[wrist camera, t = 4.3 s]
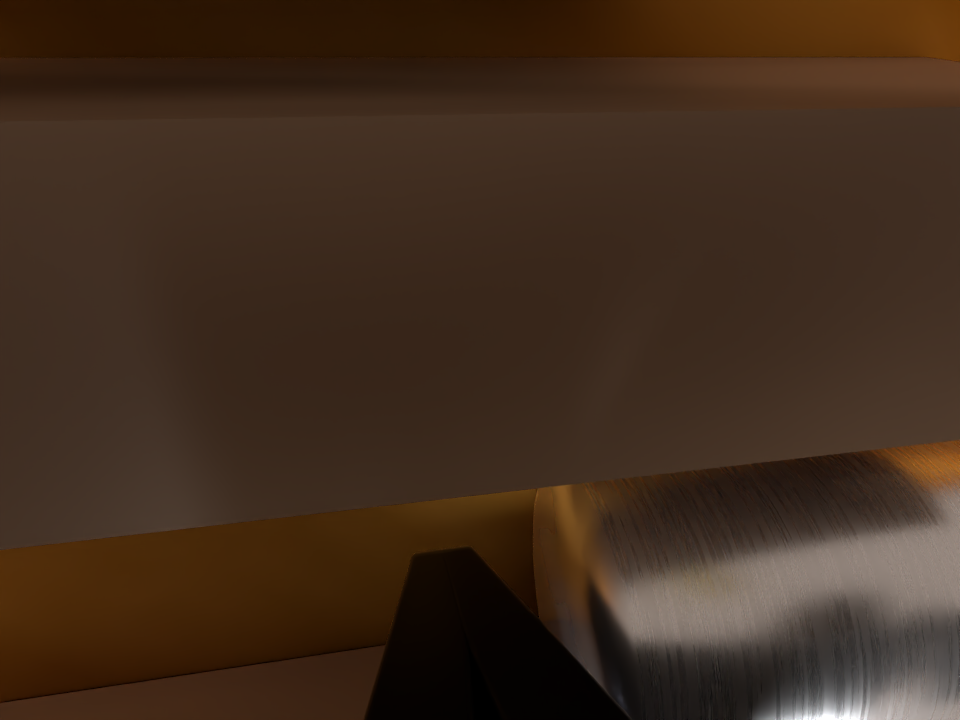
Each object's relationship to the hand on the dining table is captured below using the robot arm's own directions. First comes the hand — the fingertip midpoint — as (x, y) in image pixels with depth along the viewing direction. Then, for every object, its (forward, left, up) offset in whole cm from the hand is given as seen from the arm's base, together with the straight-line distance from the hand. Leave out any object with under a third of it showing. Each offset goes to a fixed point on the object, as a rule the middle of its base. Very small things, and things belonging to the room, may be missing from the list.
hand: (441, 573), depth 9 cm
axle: (-1, -7, +1) cm, 7 cm away
